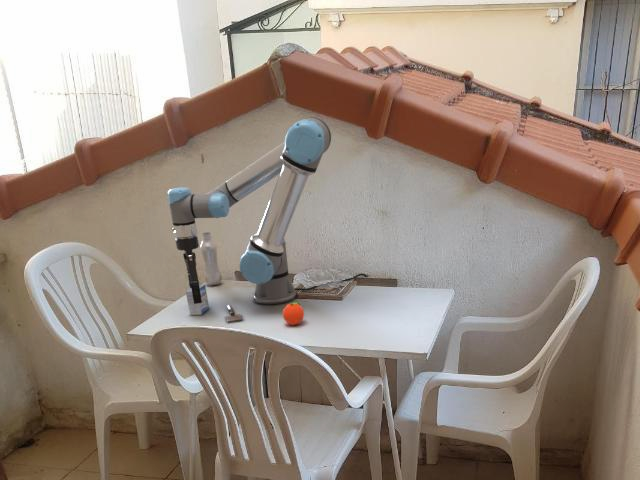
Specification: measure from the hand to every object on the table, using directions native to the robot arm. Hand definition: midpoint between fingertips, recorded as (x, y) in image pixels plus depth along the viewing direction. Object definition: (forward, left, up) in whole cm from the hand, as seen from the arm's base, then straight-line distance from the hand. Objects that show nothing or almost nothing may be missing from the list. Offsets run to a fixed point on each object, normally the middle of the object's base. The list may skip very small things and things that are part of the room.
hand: (196, 297), depth 245 cm
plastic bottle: (-9, -33, -5) cm, 34 cm away
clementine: (-29, +29, -5) cm, 42 cm away
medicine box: (0, 0, -5) cm, 5 cm away
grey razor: (-11, +10, -5) cm, 16 cm away
